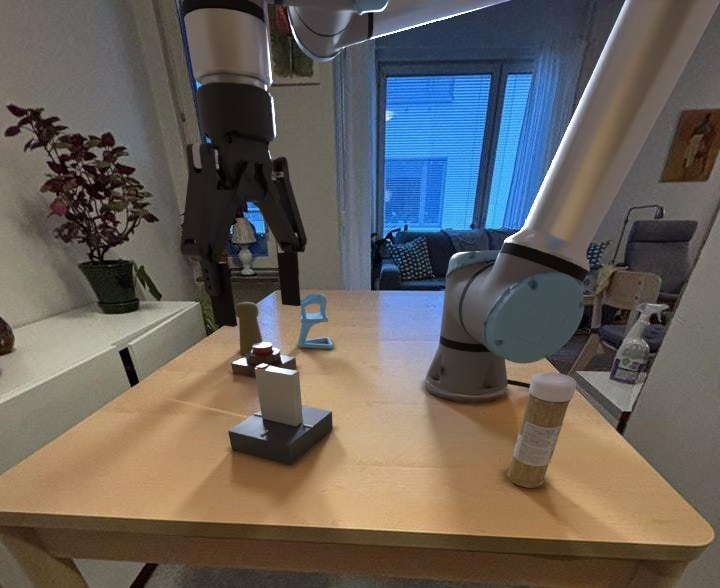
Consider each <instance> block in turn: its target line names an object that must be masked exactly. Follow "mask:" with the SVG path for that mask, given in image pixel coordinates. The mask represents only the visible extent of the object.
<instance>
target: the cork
mask: <svg viewBox="0 0 720 588" xmlns="http://www.w3.org/2000/svg"><path fill="white" fill-rule="evenodd" d="M235 313H236V318H238V325H239V326H238V330H239V353H240V354H241V355H245V356H246V352H247V350H250V349H252V345H253V344H255V343H261V342H264V340H263V335H262V332H261V328H260V325H259V321H258V316H259V314H260V313H259V308H258V305H257V304H256V303H254V302H250V301H242V302H239V303H238V302H237V304H235Z"/></svg>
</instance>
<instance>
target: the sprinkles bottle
mask: <svg viewBox="0 0 720 588" xmlns="http://www.w3.org/2000/svg"><path fill="white" fill-rule="evenodd" d="M529 384H530V388H528V398H527V403H526V406H525V410H524V413H523V416H522V421H521V424H520V427H519V431H518V433H517V437H516V441H515V445H514V449H513V454H512V455H513V456H512V458H511V462H510V466H509V469H508V471H507V478H508V479H509V481H511V483H514V484H515V485H517V486H519V487H523V488H528V489H533V488H538V487H539V488H540V487H541V486H543V484H544V483H545V477H546V475H547V474H546V473H547V470H548V468H549V464H551V461H552V458H553V455H554V452H555V449H556V445H557V442H558V439H559V436H560V433H561V431H562V428H563V423H564V420H565V417H566V413H567V411H568V407H569V404H570V402H571V400H572V399H573V398H574V395H575V392H576V388H577V385H578V383H577V380H576V379H575V378H574V377H572V376H570V375H568V374H564V373H560V372H555V371H554V372H553V371H552V372H551V371H545V372H538V373H537V372H536V373H535V374H534V375H532V377H531V381H530V383H529Z"/></svg>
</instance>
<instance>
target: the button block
mask: <svg viewBox="0 0 720 588" xmlns="http://www.w3.org/2000/svg"><path fill="white" fill-rule="evenodd" d="M272 350H273V353H271V354H267V355H256V354H253V348H252V349H250V350H247V352H246V355H245V356H244V357H242V358H240V359H238V360H235V361H232V362H231V363H230V364H231V369H232V373H233V374H235V375H242V376H246V377H253V378H256V374H255V368H256V367H257V366H259V365H261V364H268V365H269V366H272V367H278V368H284V369H289V370H295V369H296V368H297V358H296V357H294V356H290V355H289V356H288V355H283V354H282V355H281V349H279V348H277V347H273V346H272Z"/></svg>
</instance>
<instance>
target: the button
mask: <svg viewBox="0 0 720 588" xmlns="http://www.w3.org/2000/svg"><path fill="white" fill-rule="evenodd" d="M272 347H273V344H272V343H271V342H268V341H267V342H266V341H265V342H264V341H263V342H261V343H255V344H253V345H252V348H253V354H256V355H267V354H271V353H273V350H272Z"/></svg>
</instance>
